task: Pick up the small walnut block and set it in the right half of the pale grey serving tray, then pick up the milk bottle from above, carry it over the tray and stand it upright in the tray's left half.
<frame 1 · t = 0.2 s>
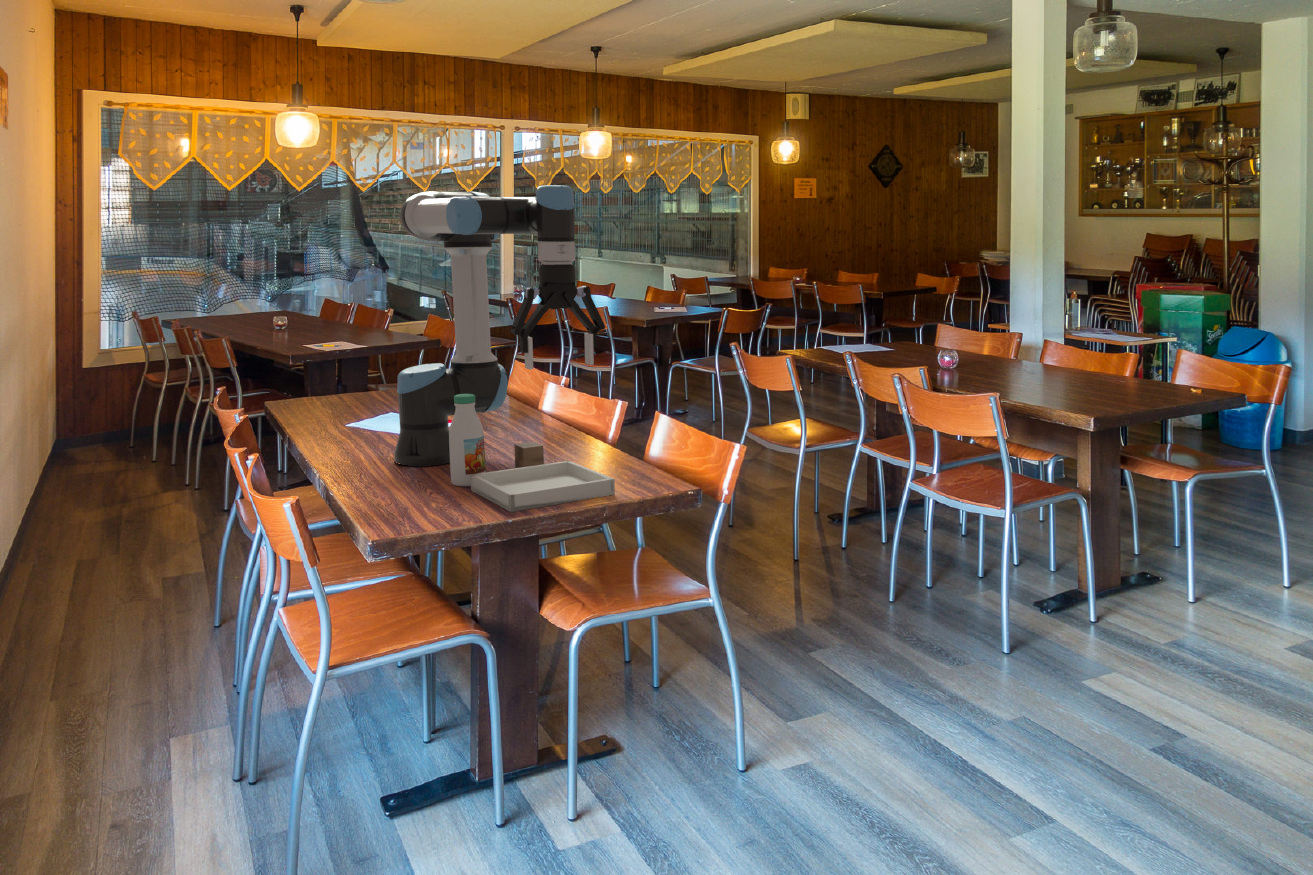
hand: (559, 366, 209), 27 cm above the table, tool pointing down, fingers open, 13 cm apart
walnut block: (529, 474, 233), on the table
milk bottle: (468, 483, 225), on the table
tray: (542, 492, 216), on the table
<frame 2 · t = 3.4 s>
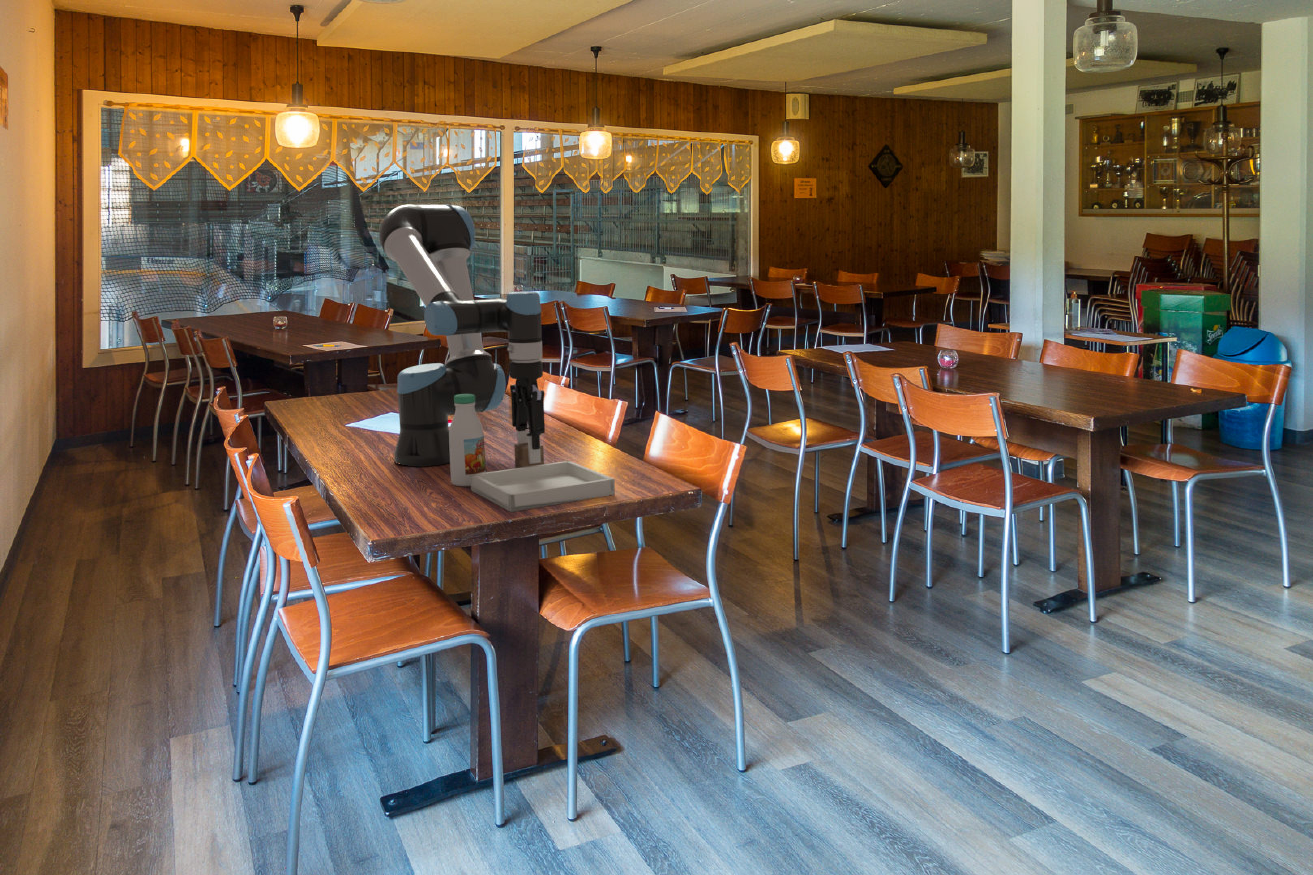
hand: (529, 460, 232), 3 cm above the table, tool pointing down, fingers closed on walnut block, 5 cm apart
walnut block: (529, 474, 233), on the table, touching gripper
everything else where it was.
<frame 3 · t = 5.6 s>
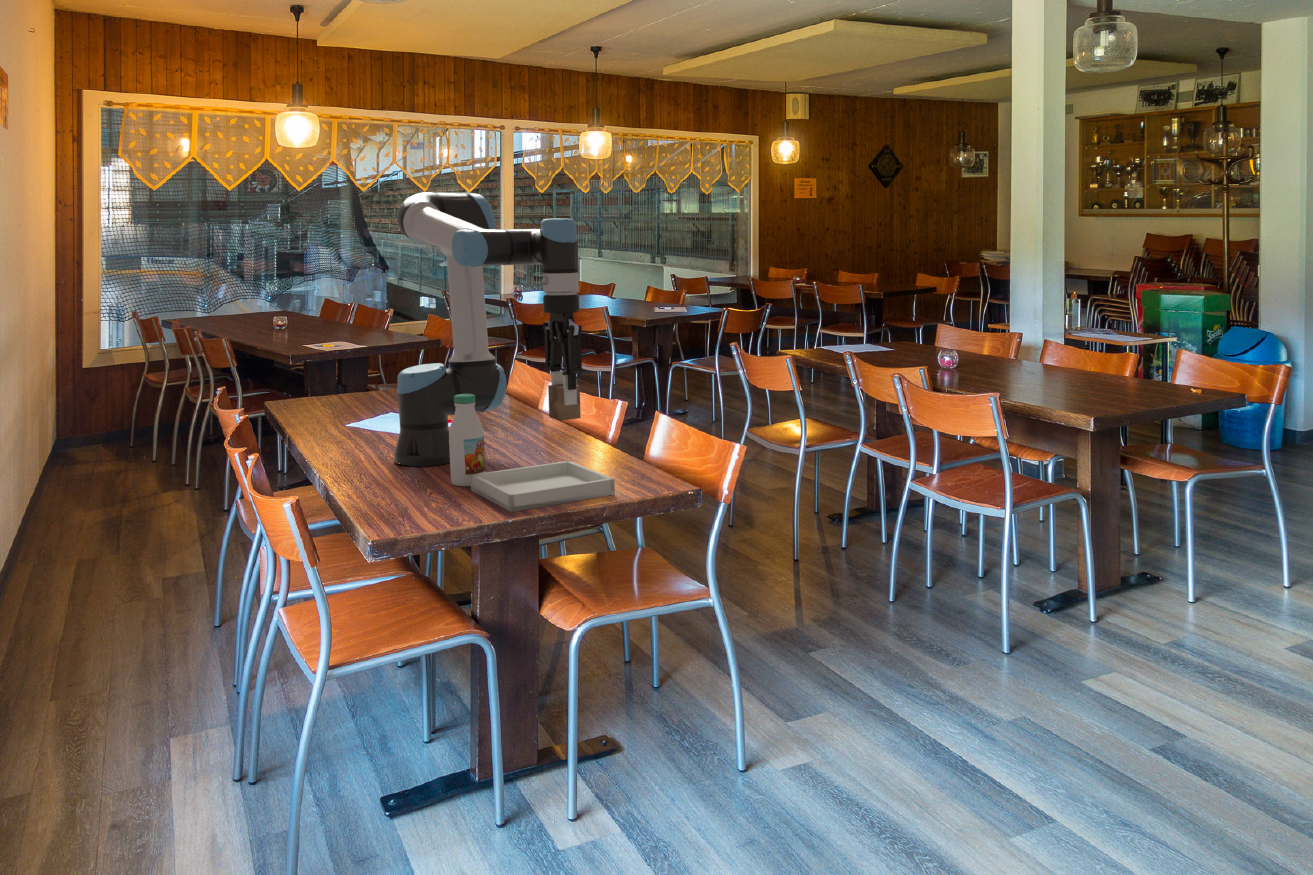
hand: (564, 402, 215), 19 cm above the table, tool pointing down, fingers closed on walnut block, 5 cm apart
walnut block: (564, 417, 216), point 16 cm above the table, touching gripper
everything else where it was.
when the fingers open (5 cm above the table, at t = 8.0 s): walnut block stays where it is, resting on tray.
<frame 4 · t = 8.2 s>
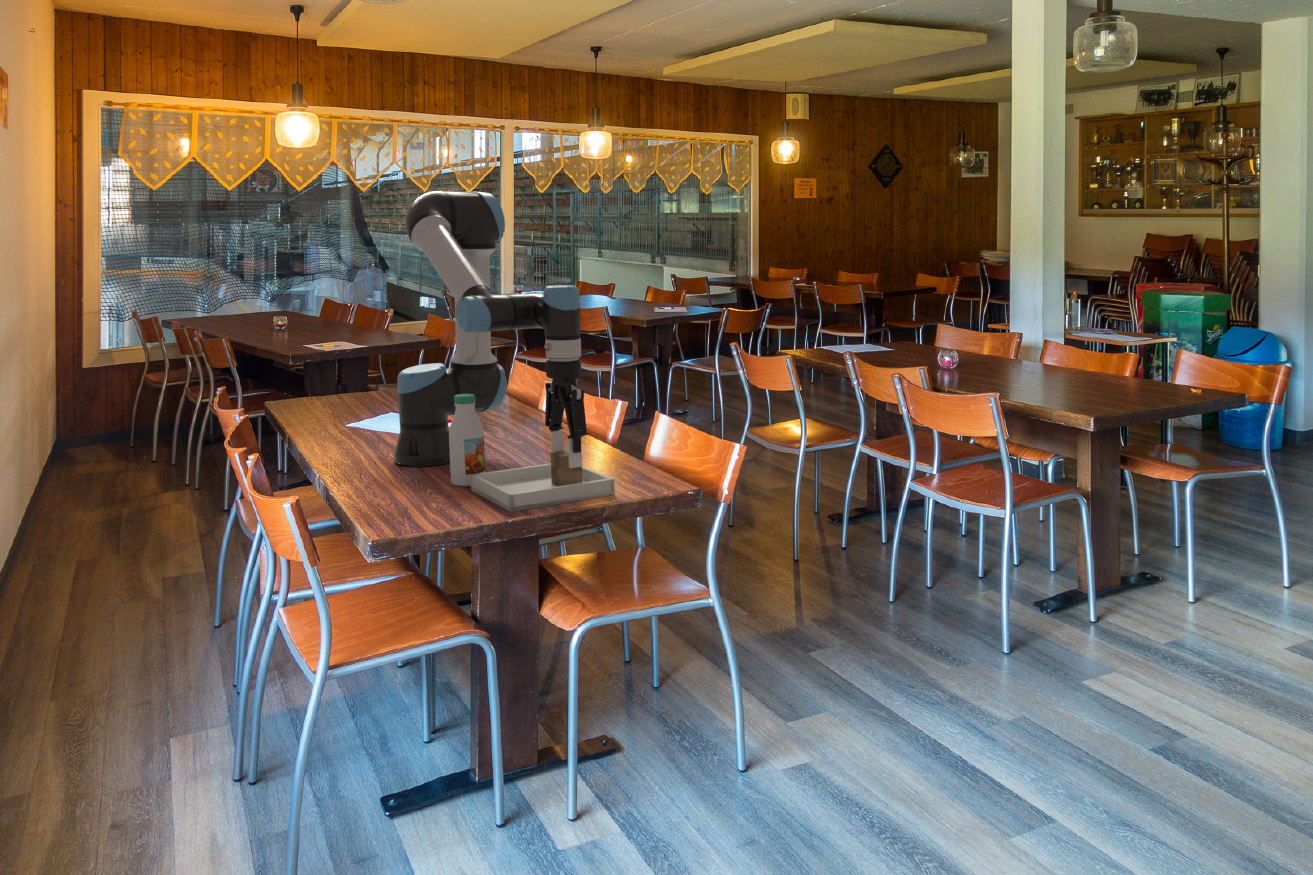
hand: (566, 463, 218), 6 cm above the table, tool pointing down, fingers open, 8 cm apart
walnut block: (567, 484, 219), point 1 cm above the table, touching tray
everything else where it was.
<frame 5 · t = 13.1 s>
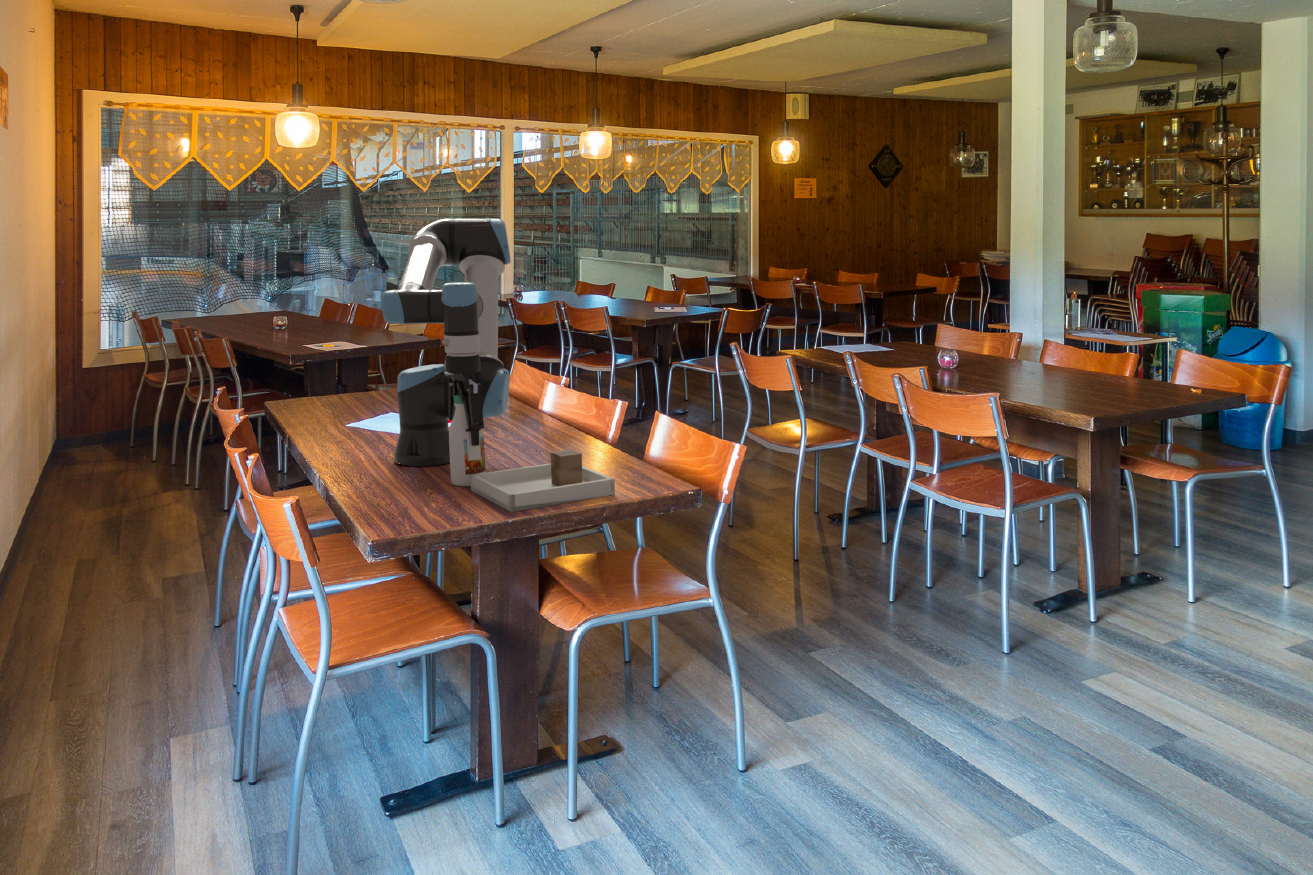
hand: (467, 456, 224), 6 cm above the table, tool pointing down, fingers closed on milk bottle, 7 cm apart
milk bottle: (468, 483, 225), on the table, touching gripper
everything else where it was.
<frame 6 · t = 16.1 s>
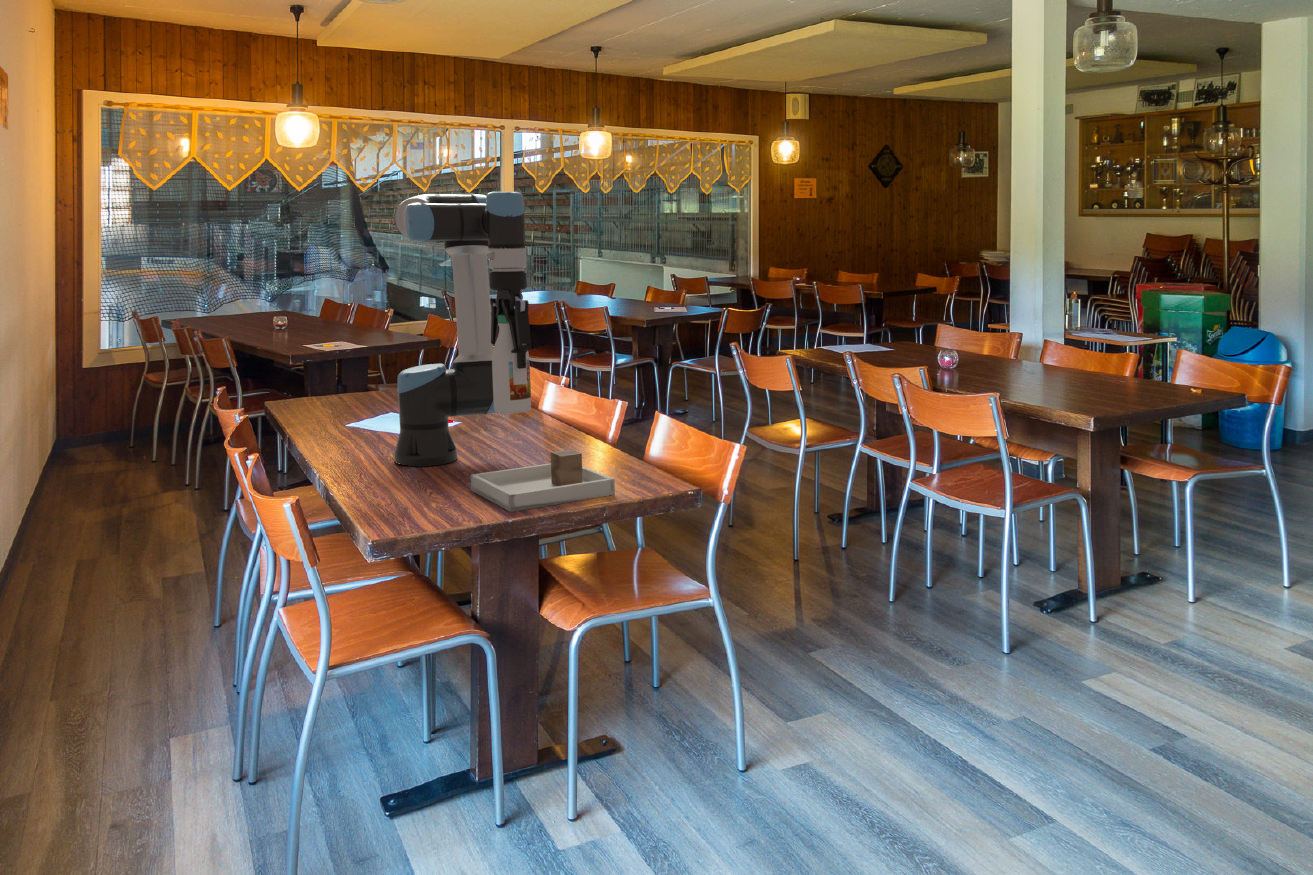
hand: (512, 381, 208), 25 cm above the table, tool pointing down, fingers closed on milk bottle, 7 cm apart
milk bottle: (512, 411, 209), point 18 cm above the table, touching gripper
everything else where it was.
when the fingers open (9 cm above the table, at t = 19.3 s): milk bottle drops 1 cm, resting on tray.
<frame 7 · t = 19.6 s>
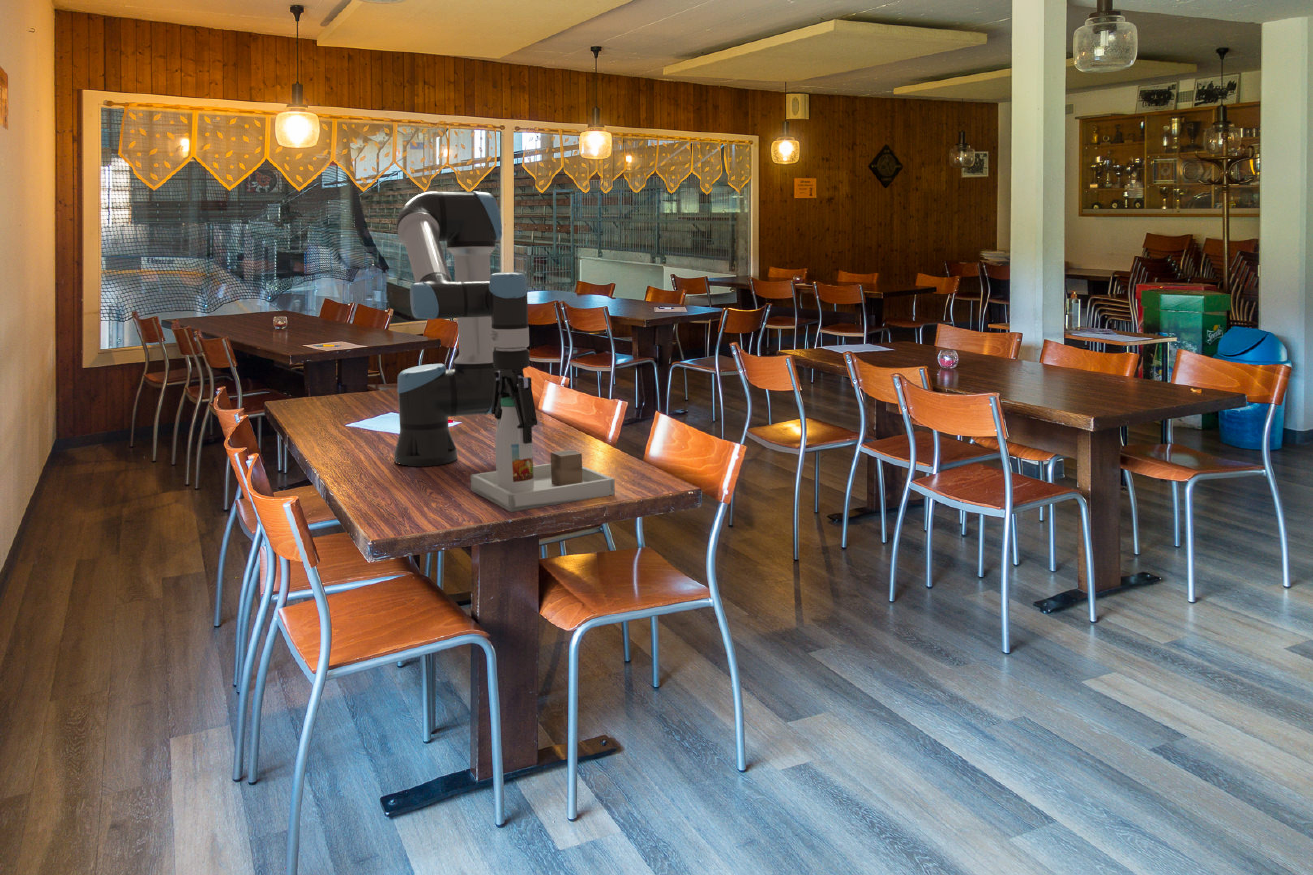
hand: (514, 453, 211), 9 cm above the table, tool pointing down, fingers open, 10 cm apart
milk bottle: (515, 492, 213), point 1 cm above the table, touching tray
everything else where it was.
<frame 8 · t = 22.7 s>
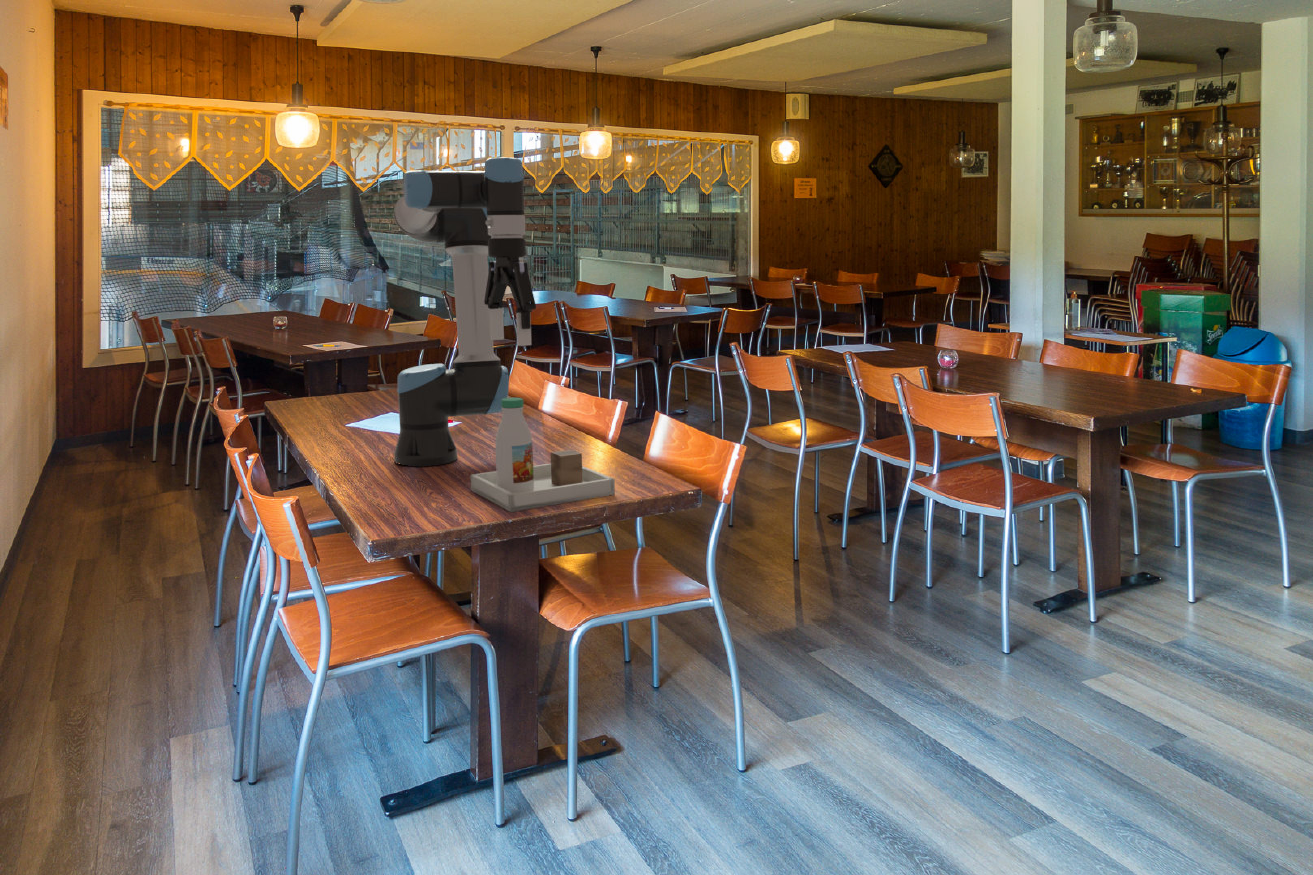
hand: (510, 342, 206), 33 cm above the table, tool pointing down, fingers open, 13 cm apart
nothing on the table moved.
at the end: milk bottle inside the target area on the tray (6.1 cm from its centre), point 0.8 cm above the tray's base; milk bottle tilted 0°; walnut block inside the target area on the tray (6.0 cm from its centre), point 1.0 cm above the tray's base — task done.
